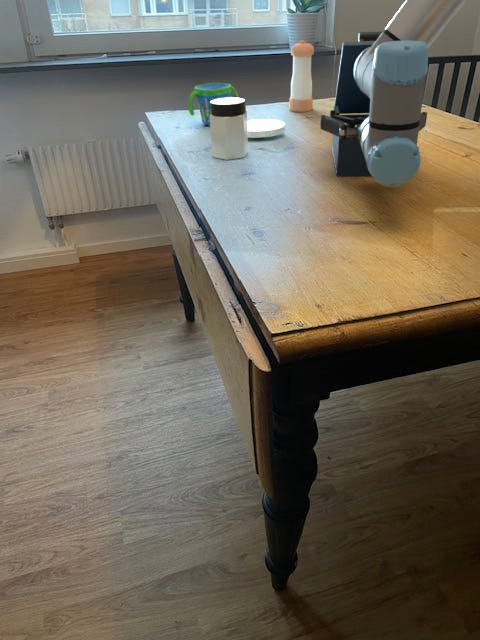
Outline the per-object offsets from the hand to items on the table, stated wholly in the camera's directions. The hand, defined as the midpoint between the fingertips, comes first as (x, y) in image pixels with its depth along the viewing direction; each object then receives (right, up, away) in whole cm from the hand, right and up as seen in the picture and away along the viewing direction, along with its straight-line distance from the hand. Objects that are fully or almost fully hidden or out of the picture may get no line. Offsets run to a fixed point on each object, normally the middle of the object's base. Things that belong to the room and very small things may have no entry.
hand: (368, 112), depth 104 cm
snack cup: (-34, +14, +43) cm, 56 cm away
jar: (-29, -4, +15) cm, 33 cm away
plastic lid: (-22, +6, +30) cm, 37 cm away
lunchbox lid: (0, +6, 0) cm, 6 cm away
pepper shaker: (-8, +23, +54) cm, 59 cm away
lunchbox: (0, -8, +6) cm, 11 cm away
